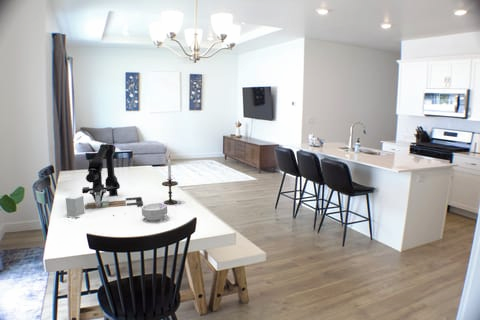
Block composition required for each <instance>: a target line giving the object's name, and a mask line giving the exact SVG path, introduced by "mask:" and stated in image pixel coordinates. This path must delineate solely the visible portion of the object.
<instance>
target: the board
mask: <svg viewBox="0 0 480 320" xmlns="http://www.w3.org/2000/svg"><path fill="white" fill-rule="evenodd" d="M115 207H127V202H126V199H124V200H112V201H111V200H110V201H109V206H106V207H102V201H101V207H96V202H90V203H89V202H88V203H86V207H85V210H93V209H106V208H115Z"/></svg>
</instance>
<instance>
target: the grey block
mask: <svg viewBox="0 0 480 320" xmlns="http://www.w3.org/2000/svg"><path fill="white" fill-rule="evenodd" d="M95 200H96V202H95V203H96V207H101V202H102V201H101V192H96V193H95ZM95 200H94V201H95Z"/></svg>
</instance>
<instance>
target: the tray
mask: <svg viewBox="0 0 480 320" xmlns="http://www.w3.org/2000/svg"><path fill="white" fill-rule="evenodd" d="M125 201H135V202H128V203H127V202H126V207H128V206H137V207H136V208H140V207H141V208H142V206H144V201H143V198H142V196H139V197H138V196H136V197H126V198H125Z"/></svg>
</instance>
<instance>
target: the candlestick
mask: <svg viewBox="0 0 480 320" xmlns="http://www.w3.org/2000/svg"><path fill="white" fill-rule="evenodd" d="M170 157H171V154H169V156H168V160H167V169H168V171H167V173H168V176H167V177H168V178H167V179H166V180H167V181H163V182H162V183H161V185H162V186H164V187H168V191H167V193H168V197H169V198H168V199H167V200H165V201H163V204H166V205H167V206H168V205H169V206H170V205H176V204H178V201H177V200H176V199H172V197H173V195H172V194H173V192H172V187H175V186H177V185H179V182H178V181H175V180H174V181H173V178H172V166H171V165H172V161H171V158H170Z"/></svg>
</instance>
